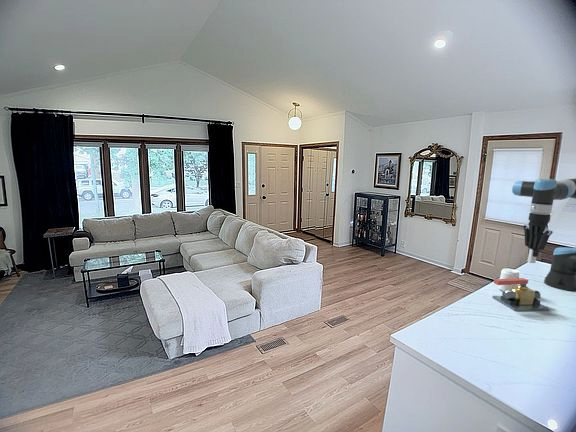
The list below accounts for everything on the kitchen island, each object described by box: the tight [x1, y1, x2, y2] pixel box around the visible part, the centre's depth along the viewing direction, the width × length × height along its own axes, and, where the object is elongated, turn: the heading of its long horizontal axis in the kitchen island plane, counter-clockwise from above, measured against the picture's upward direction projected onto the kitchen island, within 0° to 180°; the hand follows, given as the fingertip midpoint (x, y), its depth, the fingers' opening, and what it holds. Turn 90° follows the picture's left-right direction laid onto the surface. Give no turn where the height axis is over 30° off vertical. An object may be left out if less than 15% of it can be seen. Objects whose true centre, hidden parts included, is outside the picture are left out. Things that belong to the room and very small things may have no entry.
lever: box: [493, 277, 529, 287], centre depth 148 cm, size 17×3×4 cm, turn 100°
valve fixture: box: [492, 284, 550, 312], centre depth 150 cm, size 18×14×10 cm
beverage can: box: [498, 267, 520, 292], centre depth 166 cm, size 8×8×12 cm
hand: (531, 262), depth 141 cm, fingers closed
